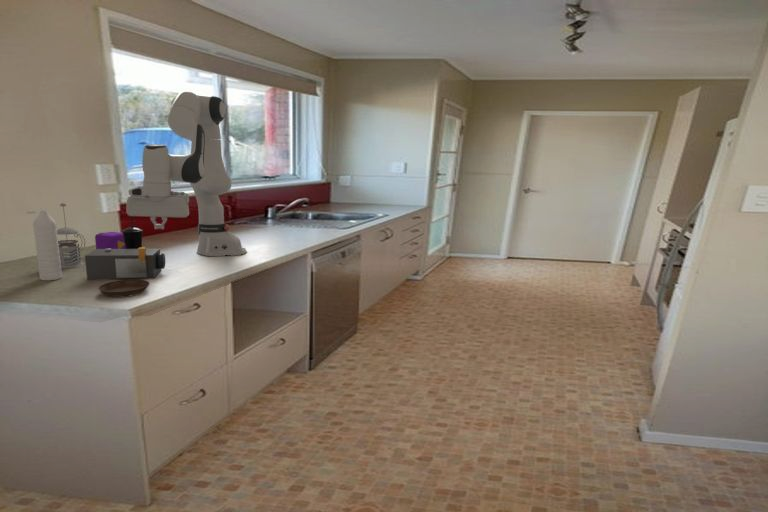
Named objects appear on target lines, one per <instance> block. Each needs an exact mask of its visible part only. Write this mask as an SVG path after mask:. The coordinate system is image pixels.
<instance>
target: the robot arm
mask: <svg viewBox="0 0 768 512" xmlns="http://www.w3.org/2000/svg"><path fill="white" fill-rule="evenodd" d="M225 105H226V104H225V102H224V99H222V98H221V97H218V96H214V95H212V96H210V95H204V94H196V93H194V92H193V91H187V90H184V91H181V92H180V93H179V94H178V95H177V96H175V97H174V98H173V99H172V100H171V106H170V109H169V112H168V115H167V124H168V127H169V128H170V130H171V131H172V132H173V133H174V134H175V135H177V136H178V137H180V138H183V139H185V140H188V141H189V142H191V145H190V147H191V148H190V153H189V154H187V155H179V154H170V152H169V148H168V146H167V145H165V144H161V143H160V144H159V143H154V144H152V143H151V144H150V143H149V144H146V145H145V146H144V147H143V151H142V159H141V160H142V161H141V162H142V164H141V165H142V172H143V179H142V180H143V181H142V183H143V185H140V186H137V187H133V188H130V189H128V194H129V196H128V197H127V200H126V204H125V205H126V206H125V208H126V212H125V213H126V214H127V216H128V217H131V216H132V217H146V218H147V217H150V219H149V220H150V221H151V223H152V224H153V226H154V228H153V229H154V230H164V229H165V224H166V223H167V221H168V218H182V219H183V218H184V219H185V218H187V217H188V216H189V215H190V208H189V207H190V206H189V203H190V196H189V194H188V193H186V192H185V191H172V182H180V183H181V182H183V183H189V184H190V186H191V188H192V190H193V192H194V193H193V194H194V196H195V200H196V203H197V207H198V209H197V210H198V225H197V233H198V244H197V245H198V246H197V249H196V253H197V254H198V255H201V256H202V255H203V256H206V257H226V256H225V255H231V256H242V255H241V254H243V255H245V254H246V253H247V248H246V247H243V245H242V242H241V239H240V238H239V237H238V236H236V235H235V234H234V233H232V232H231V231H229V230H230V229H229V228H230V226H229V225H230V224H228V223H225V215H224V212H225V210H224V208H225V207H224V205H223V204H222V202H221V200H220V195H225V194H227V193H228V192H230V190H231V188H232V179H231V177H230V176H229V175H228V173H227V171H226V167H225V164H224V159H223V155H222V154H223V153H222V140H221V139H222V138H221V137H222V135H221V128H220V123H221V122H223V121H224V119H225V117H226V111H227V110H226V106H225ZM157 218H161V223H157V221H156V220H157ZM245 252H246V253H245ZM244 253H245V254H244Z"/></svg>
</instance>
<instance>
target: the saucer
mask: <svg viewBox="0 0 768 512" xmlns="http://www.w3.org/2000/svg"><path fill="white" fill-rule="evenodd" d="M149 285H150V281H148V280H146V279H119V280H115V281H111V282H107V283H104V284H101V285H99V286H98V289H97V290H99V292H101V293H102V294H104V295H105V296H108V297H111V296H112V298H123V297H122V296H126V297H131V296H130V295H133V296H136V294H137V295H139V294H141V293H144V291H146V290H147V288H148V287H149Z"/></svg>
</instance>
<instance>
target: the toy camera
mask: <svg viewBox="0 0 768 512" xmlns="http://www.w3.org/2000/svg"><path fill="white" fill-rule="evenodd" d="M94 239H95V240H94V241H95V247H96V248H95V250H96V249H107V248H111V249H126V247H125V241H124V236H123V232H118V231H106V232H104V231H100V232H99V233H96V234H95V236H94Z"/></svg>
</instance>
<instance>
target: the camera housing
mask: <svg viewBox="0 0 768 512" xmlns="http://www.w3.org/2000/svg"><path fill="white" fill-rule="evenodd" d="M116 258H139V253H138V249H111V248H107V249H96V248H95V250H93V251H91V252H89V253H87V254H85V255H84V260H85V271H86V279H87V281H96V280H97V279H107V280H151V279H152V280H154V279H155V278H156V277H157V276H158V275H159V274H160V273H161V272H162V270H163V269H165V266H166V254H165V253H163V252H162V253H161V248H146V264H147V277H129V278H117V276H116V265H115V259H116ZM95 279H96V280H95Z"/></svg>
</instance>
